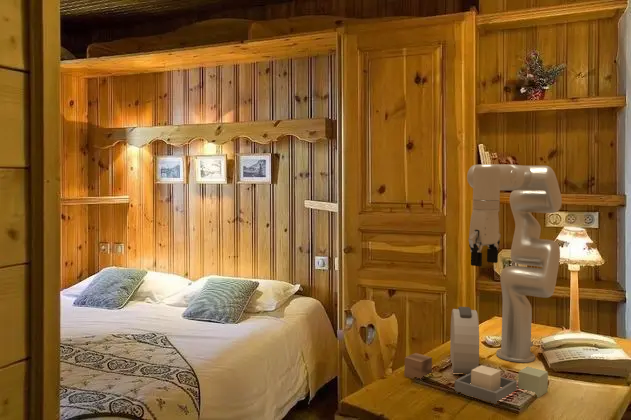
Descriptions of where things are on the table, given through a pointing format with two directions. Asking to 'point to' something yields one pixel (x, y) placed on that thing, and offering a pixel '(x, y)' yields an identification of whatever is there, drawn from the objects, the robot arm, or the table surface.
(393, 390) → the table surface
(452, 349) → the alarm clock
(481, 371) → the cream block
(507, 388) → the grey tray
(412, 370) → the walnut block
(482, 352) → the table surface
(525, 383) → the sage block
